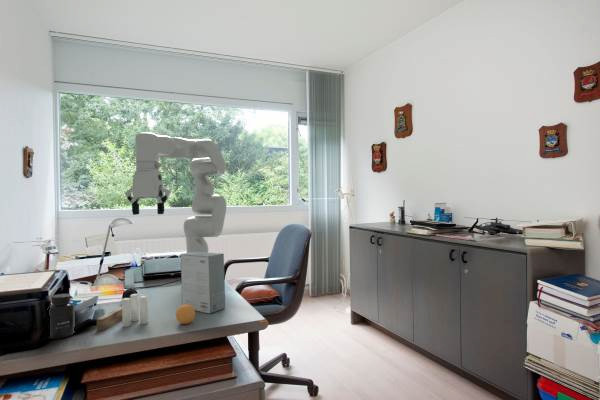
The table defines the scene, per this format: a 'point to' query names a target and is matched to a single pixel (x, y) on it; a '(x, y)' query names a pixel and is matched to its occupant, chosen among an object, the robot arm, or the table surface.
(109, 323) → the backstop wall
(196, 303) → the hard drive box
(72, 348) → the table surface
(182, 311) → the ball
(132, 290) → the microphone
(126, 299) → the back left pin
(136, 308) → the back right pin
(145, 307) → the front pin
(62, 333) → the supplement bottle
